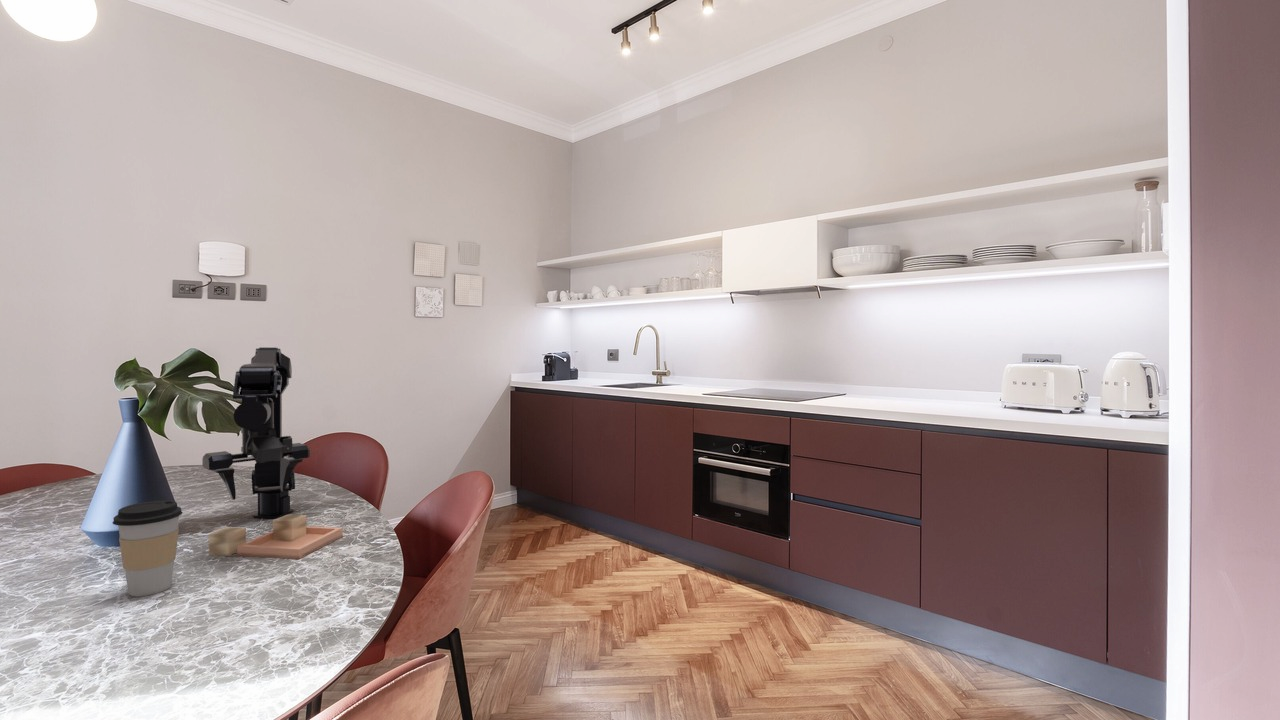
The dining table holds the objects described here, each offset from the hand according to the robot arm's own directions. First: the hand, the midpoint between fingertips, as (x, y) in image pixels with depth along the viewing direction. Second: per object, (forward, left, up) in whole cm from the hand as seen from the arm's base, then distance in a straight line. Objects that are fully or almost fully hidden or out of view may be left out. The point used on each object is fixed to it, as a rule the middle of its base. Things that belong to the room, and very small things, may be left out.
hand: (258, 495), depth 124 cm
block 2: (+4, +4, -11) cm, 12 cm away
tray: (+7, +1, -11) cm, 13 cm away
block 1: (-4, -4, -11) cm, 13 cm away
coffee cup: (-2, -23, -11) cm, 26 cm away
